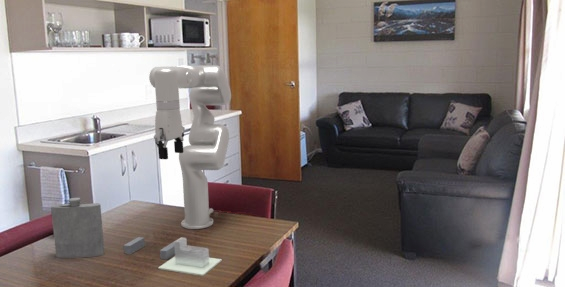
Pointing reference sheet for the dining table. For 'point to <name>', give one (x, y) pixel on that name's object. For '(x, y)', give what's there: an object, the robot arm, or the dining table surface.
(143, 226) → the dining table surface
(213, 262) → the mat
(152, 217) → the dining table surface
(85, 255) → the hip flask
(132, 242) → the vise jaws
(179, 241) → the white pedestal stand
